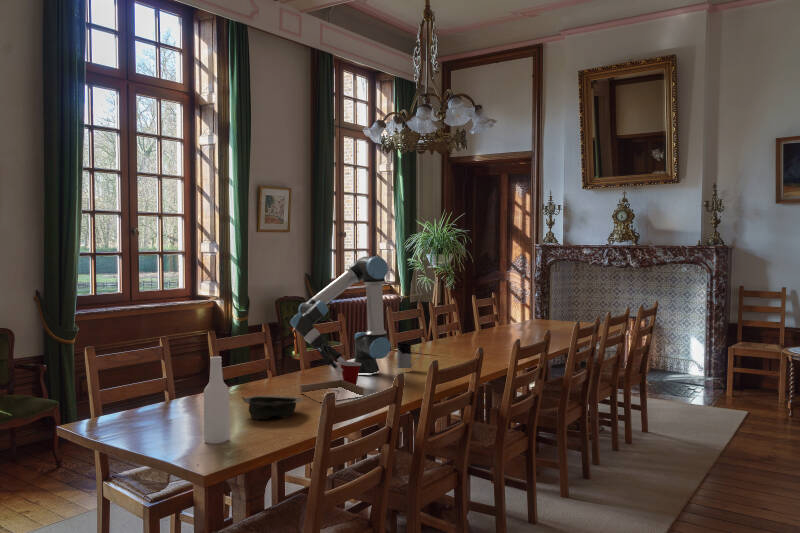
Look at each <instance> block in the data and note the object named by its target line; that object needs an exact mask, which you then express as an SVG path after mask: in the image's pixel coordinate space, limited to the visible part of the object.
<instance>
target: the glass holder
mask: <svg viewBox="0 0 800 533" xmlns="http://www.w3.org/2000/svg"><path fill="white" fill-rule="evenodd" d="M415 348H419V355H418V357H417V358H416V360H415V361H413V363H412V355H413V354H414V353H415ZM421 349H422V348H421V347H420V346H418V345H415V346H414V347H413V349H412V344H410V343H398V344H397V351H396V353H397V354H396V356H397V357H396V358H397V360H396V361H397V366H396V367H398V368H411V367H412V368H413V366H414V364H416V362H418V360H419V359H420V358H421V355H422V354H421V353H422V350H421ZM412 350H413V351H412ZM412 368H411V369H412Z"/></svg>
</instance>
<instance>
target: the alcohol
mask: <svg viewBox="0 0 800 533" xmlns="http://www.w3.org/2000/svg"><path fill="white" fill-rule="evenodd" d="M222 358H223V357H222V356H219V355H216V356H215V355H214V356H210V358H209V359H210V361H209V363H210V365H209V366H210V368H209V380H208V381H209V382H208V384H207V385H206V386H205V388H204V389H203V440H204V442H205V443H206V444H208V445H220V444H223V443H227V442H228V441H229V440H230V438H231V432H230V427H231V426H230V422H231V421H230V391H229V390H230V389H229V387H228V385H227V384H226V383H225V382H224V376H223V365H222ZM226 441H227V442H226Z"/></svg>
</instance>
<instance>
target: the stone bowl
mask: <svg viewBox="0 0 800 533" xmlns="http://www.w3.org/2000/svg"><path fill="white" fill-rule="evenodd" d="M242 400H243V402H244V403H246V404H248V413H249V414H250V418H251V419H252V418H253V420H256V419H258V420H257V421H260V420H268V419H271V418H272V417H276V416H278V418H280V417H281V418H280V419H286V418H285V417H288V418H290V417H291V416H292V415H293V414H294V412H295V410H296V406H297V404H298V403H301V402H302V401H304V398H301V397H299V396H298V397H297V396H289V395H287V396H286V395H253V396H250V397H246V398H244V396H242ZM290 415H291V416H290Z"/></svg>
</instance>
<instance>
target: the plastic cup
mask: <svg viewBox="0 0 800 533" xmlns="http://www.w3.org/2000/svg"><path fill="white" fill-rule="evenodd" d="M339 365H340V367H341V368H342V369H343V371H342V372H341V375H342V380H344V381H347V382H349V383H352V384H355V385H356V384H357V383H358V377H359V375H358V373H359V369H360V366H361V363H357V362H354V361H346V362H340V363H339ZM357 385H358V384H357Z"/></svg>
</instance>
